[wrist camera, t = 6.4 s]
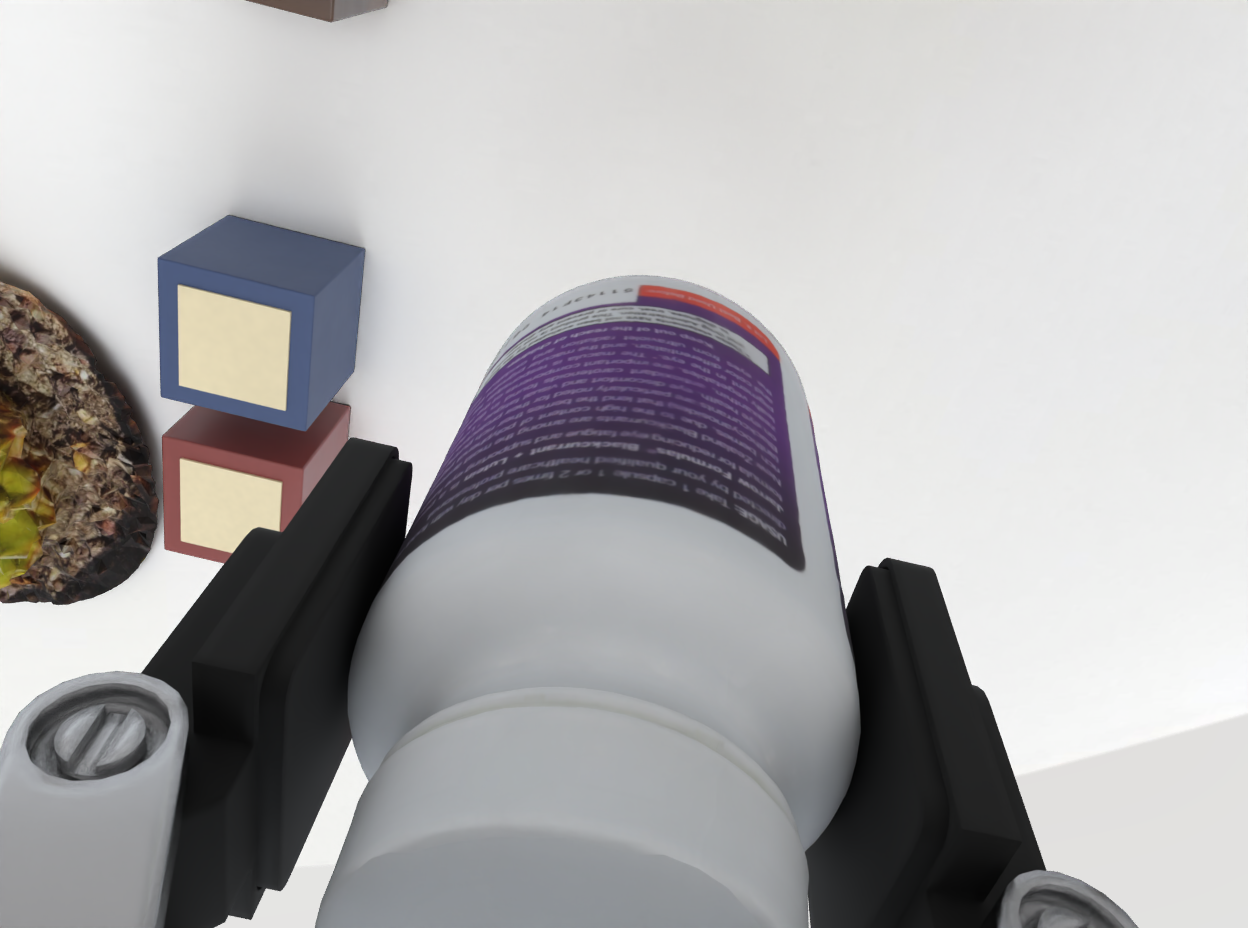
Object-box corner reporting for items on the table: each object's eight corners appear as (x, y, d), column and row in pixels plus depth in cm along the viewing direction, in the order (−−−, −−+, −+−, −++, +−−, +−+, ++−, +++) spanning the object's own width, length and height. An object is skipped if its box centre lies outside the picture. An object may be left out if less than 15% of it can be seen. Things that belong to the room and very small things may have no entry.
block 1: (227, 214, 34) (154, 258, 30) (365, 248, 34) (313, 297, 30) (225, 340, 37) (158, 398, 32) (354, 371, 37) (304, 434, 32)
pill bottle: (419, 375, 16) (76, 896, 7) (697, 199, 14) (658, 630, 6) (603, 601, 18) (496, 1213, 9) (867, 474, 16) (1027, 1093, 8)
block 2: (225, 375, 37) (159, 436, 33) (351, 405, 38) (302, 470, 33) (223, 481, 40) (162, 551, 35) (341, 509, 40) (295, 582, 36)
